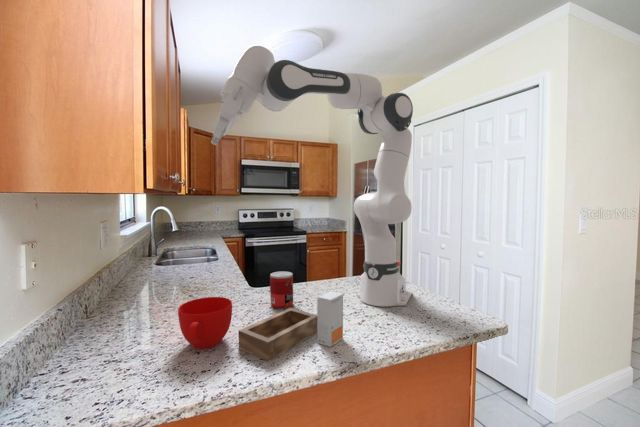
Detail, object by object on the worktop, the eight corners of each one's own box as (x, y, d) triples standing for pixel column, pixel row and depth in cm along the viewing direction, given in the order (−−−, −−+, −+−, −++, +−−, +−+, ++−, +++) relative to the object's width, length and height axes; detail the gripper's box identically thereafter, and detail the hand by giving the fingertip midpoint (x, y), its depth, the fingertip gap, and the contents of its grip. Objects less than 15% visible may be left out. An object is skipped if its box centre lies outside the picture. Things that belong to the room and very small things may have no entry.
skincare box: (330, 347, 74) (330, 300, 73) (317, 343, 77) (316, 296, 76) (343, 338, 79) (343, 293, 78) (330, 334, 81) (330, 290, 81)
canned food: (289, 309, 100) (289, 277, 100) (267, 308, 102) (266, 276, 101) (296, 301, 108) (295, 271, 107) (274, 300, 109) (274, 270, 109)
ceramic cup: (162, 366, 66) (161, 322, 66) (190, 332, 83) (189, 297, 83) (222, 364, 67) (221, 320, 67) (237, 331, 84) (236, 296, 84)
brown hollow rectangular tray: (290, 322, 89) (290, 307, 89) (318, 331, 83) (318, 315, 83) (238, 348, 74) (238, 330, 74) (268, 361, 68) (268, 342, 68)
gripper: (254, 90, 75) (229, 137, 73) (242, 114, 94) (221, 152, 92) (231, 75, 73) (204, 123, 71) (223, 102, 92) (202, 141, 90)
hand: (214, 140), depth 82 cm, fingers open, 8 cm apart
